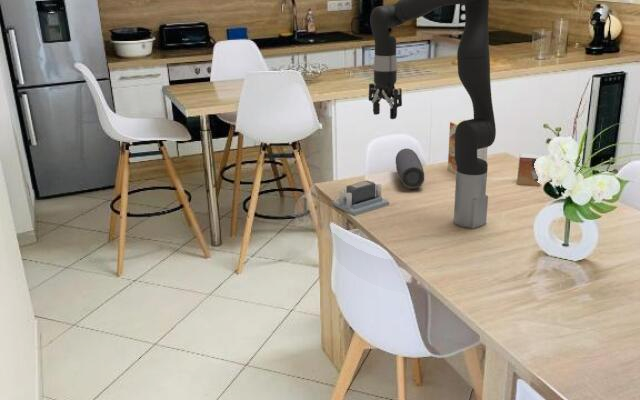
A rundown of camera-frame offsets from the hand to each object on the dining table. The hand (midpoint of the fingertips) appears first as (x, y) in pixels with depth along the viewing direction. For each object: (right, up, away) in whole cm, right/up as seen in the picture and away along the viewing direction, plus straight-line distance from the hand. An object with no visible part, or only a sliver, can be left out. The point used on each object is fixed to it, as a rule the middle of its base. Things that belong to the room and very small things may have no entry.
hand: (384, 116), depth 218 cm
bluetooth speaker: (+11, -22, +22) cm, 33 cm away
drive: (-8, -29, +1) cm, 30 cm away
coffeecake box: (+34, -19, +28) cm, 48 cm away
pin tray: (-8, -30, +1) cm, 31 cm away
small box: (+54, -22, +17) cm, 61 cm away
